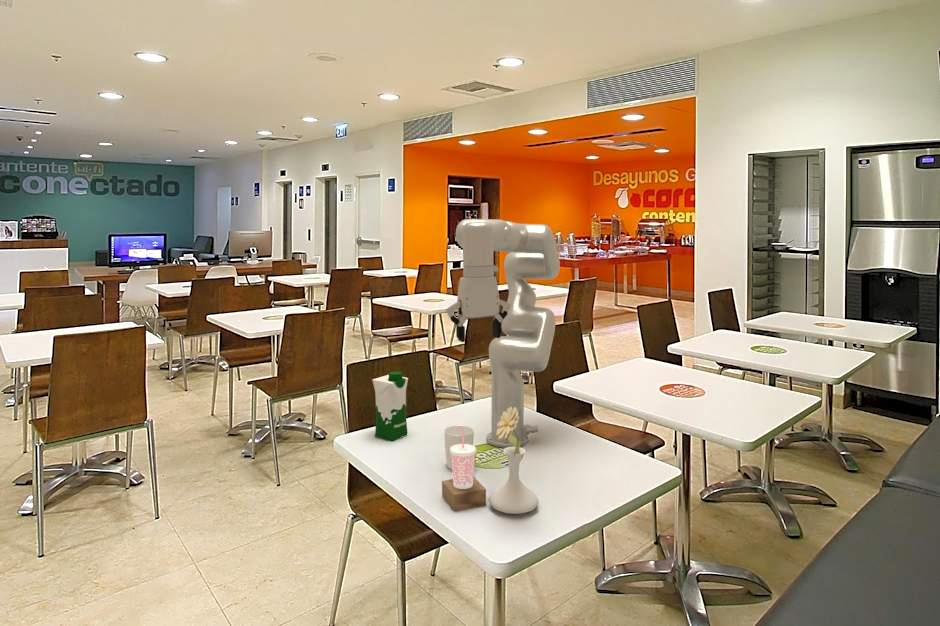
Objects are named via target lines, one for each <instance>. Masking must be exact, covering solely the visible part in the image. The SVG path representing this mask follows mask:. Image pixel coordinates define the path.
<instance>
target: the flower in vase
mask: <svg viewBox="0 0 940 626" xmlns="http://www.w3.org/2000/svg"><path fill="white" fill-rule="evenodd" d="M502 415H503V416H501V420H500V422H498V424H497V426H498V427H499V428H498V429H497V433H496V435H499V437H498V439H501V440H502V439H504V440H505V439H506V438H508V440H509V442H510V443H511V444H512V445H514V446H515V447H507V448H504V449H503V451H502V452H503V453H504V454H505V456H506V458H507V461H508V472H509V473H508V479H507V481H506V482H505V483H504V484H501V485H500V486H499V487H497V488H496V489H494V491H492V492H491V494H490V496H489V498H488V502H489V504H490V505H491V507H492V508H493V509H495V510H497V511H499V512H501V513H504V514H509V515H510V514H511V515H512V514H513V515H514V514H515V515H519V514H525V513H528V512H532V511H533V510H535V509H536V508H537V506H538V504H539V498H538V495H536V493H535V492H534V491H533V490H531V489H530V487H528V486H526V485H525V484H524V483H523V482H521V479H520V472H519V471H520V464H521V460H522V457H523V456H524V455H525V453H526V449H524V448H523V447H521V446H520V442H518V436H517V433H516V431H515V429H516V425H517V423H518V419H519V416H518V412H517V409H516V407H515V408H514V409H513V410H512V407H510V408H508V409H507V412H505V411H504V412H503V414H502ZM513 430H514V432H515V435H516V438H517V439H516V438H515V437H514V436H513V435H512V433H513Z"/></svg>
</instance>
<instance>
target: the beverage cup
mask: <svg viewBox="0 0 940 626" xmlns="http://www.w3.org/2000/svg"><path fill="white" fill-rule="evenodd" d="M450 453H451V458H452V469H451V471H452V479H453V485H454V487H456V488H459V489H468V488H471V487H472V486H473V476H474V472H475V456H476V453H477V447H476V446H475V445H474V444H473V445H470V444H464V428H462V444H457V445H453V446H452V447H451V448H450Z"/></svg>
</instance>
